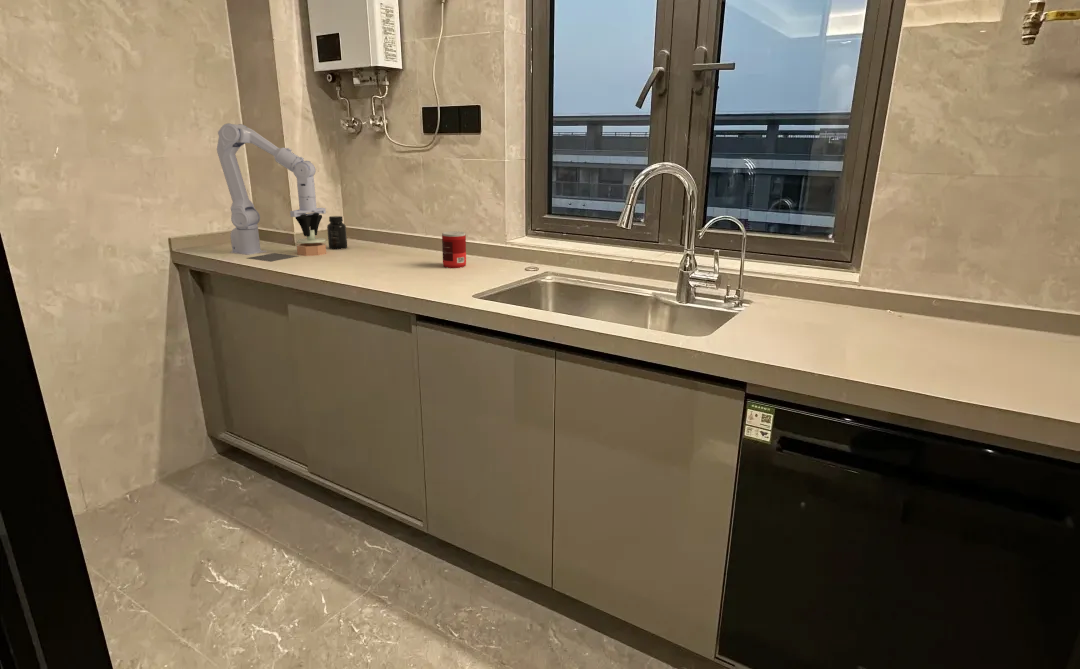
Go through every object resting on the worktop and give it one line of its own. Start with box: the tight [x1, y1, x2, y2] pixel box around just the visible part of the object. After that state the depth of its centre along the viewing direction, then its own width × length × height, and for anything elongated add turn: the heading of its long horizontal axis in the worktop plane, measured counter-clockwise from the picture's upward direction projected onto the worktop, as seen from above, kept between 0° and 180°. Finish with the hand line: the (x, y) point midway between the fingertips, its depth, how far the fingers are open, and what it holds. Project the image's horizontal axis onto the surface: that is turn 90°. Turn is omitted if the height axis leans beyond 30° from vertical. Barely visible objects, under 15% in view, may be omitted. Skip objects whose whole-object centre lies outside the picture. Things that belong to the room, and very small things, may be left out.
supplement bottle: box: [326, 215, 348, 250], centre depth 235 cm, size 7×7×12 cm
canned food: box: [441, 231, 467, 269], centre depth 205 cm, size 8×8×11 cm
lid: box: [296, 230, 327, 244], centre depth 221 cm, size 10×10×4 cm
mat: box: [246, 252, 300, 262], centre depth 214 cm, size 12×12×1 cm
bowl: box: [296, 242, 327, 257], centre depth 223 cm, size 10×10×4 cm
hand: (310, 235), depth 222 cm, fingers closed on lid, 3 cm apart
